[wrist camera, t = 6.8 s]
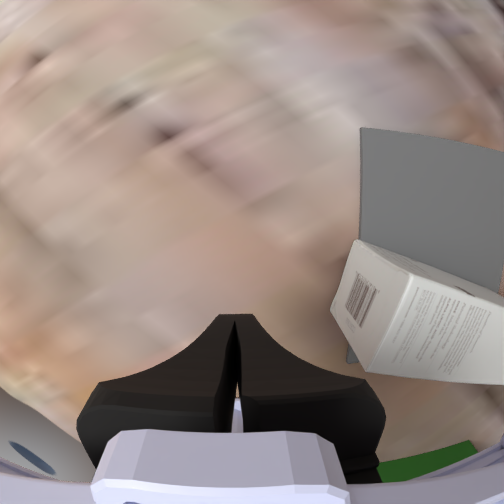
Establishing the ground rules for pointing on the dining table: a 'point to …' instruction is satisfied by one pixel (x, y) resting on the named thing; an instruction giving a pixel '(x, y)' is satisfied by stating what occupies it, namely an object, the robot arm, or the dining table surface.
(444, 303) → the skincare box
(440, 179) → the mat
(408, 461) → the hardback book
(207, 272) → the dining table surface
